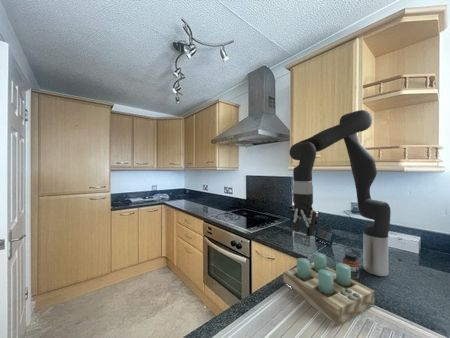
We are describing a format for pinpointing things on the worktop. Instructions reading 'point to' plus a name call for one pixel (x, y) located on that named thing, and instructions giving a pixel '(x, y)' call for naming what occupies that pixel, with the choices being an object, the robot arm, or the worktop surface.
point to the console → (331, 295)
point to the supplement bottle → (352, 265)
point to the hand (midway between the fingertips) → (303, 233)
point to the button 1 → (303, 268)
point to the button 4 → (343, 274)
